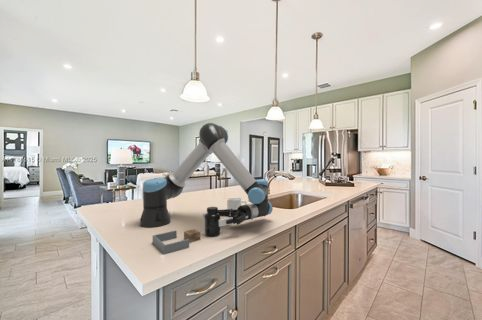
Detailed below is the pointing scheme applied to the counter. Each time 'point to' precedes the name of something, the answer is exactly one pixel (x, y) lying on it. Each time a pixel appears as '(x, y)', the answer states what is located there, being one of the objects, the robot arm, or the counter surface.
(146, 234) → the counter surface
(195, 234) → the brown wooden block
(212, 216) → the supplement bottle
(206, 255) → the counter surface
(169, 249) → the grey u-shaped bracket
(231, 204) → the cup
